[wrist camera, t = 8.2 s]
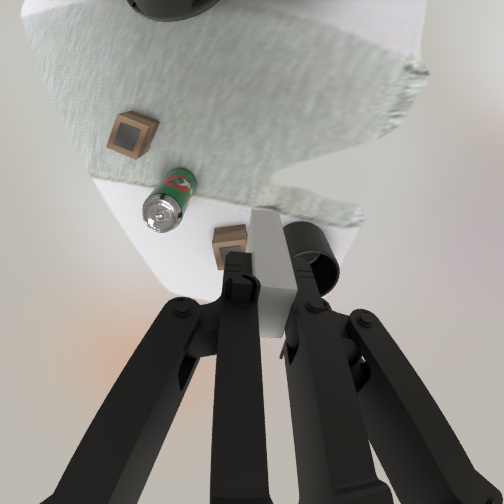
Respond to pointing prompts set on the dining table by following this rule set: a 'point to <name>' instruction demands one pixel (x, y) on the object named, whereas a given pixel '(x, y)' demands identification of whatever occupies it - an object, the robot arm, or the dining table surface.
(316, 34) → the dining table surface
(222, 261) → the walnut block
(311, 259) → the mug
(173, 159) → the dining table surface
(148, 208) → the soda can
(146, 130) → the walnut block
